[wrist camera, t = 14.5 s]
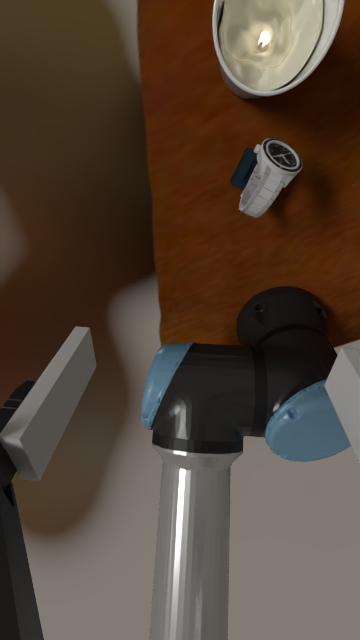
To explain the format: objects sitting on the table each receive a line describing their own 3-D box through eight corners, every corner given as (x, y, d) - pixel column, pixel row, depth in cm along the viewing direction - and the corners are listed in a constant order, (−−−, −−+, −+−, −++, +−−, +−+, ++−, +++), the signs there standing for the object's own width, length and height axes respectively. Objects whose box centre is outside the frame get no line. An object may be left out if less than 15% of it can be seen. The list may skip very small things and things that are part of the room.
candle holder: (201, 95, 34) (198, 77, 24) (228, -25, 29) (237, -112, 19) (278, 117, 34) (306, 109, 24) (318, 3, 29) (375, -66, 19)
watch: (292, 151, 36) (319, 156, 27) (257, 210, 41) (271, 232, 31) (254, 130, 35) (269, 128, 26) (223, 193, 40) (227, 210, 31)
